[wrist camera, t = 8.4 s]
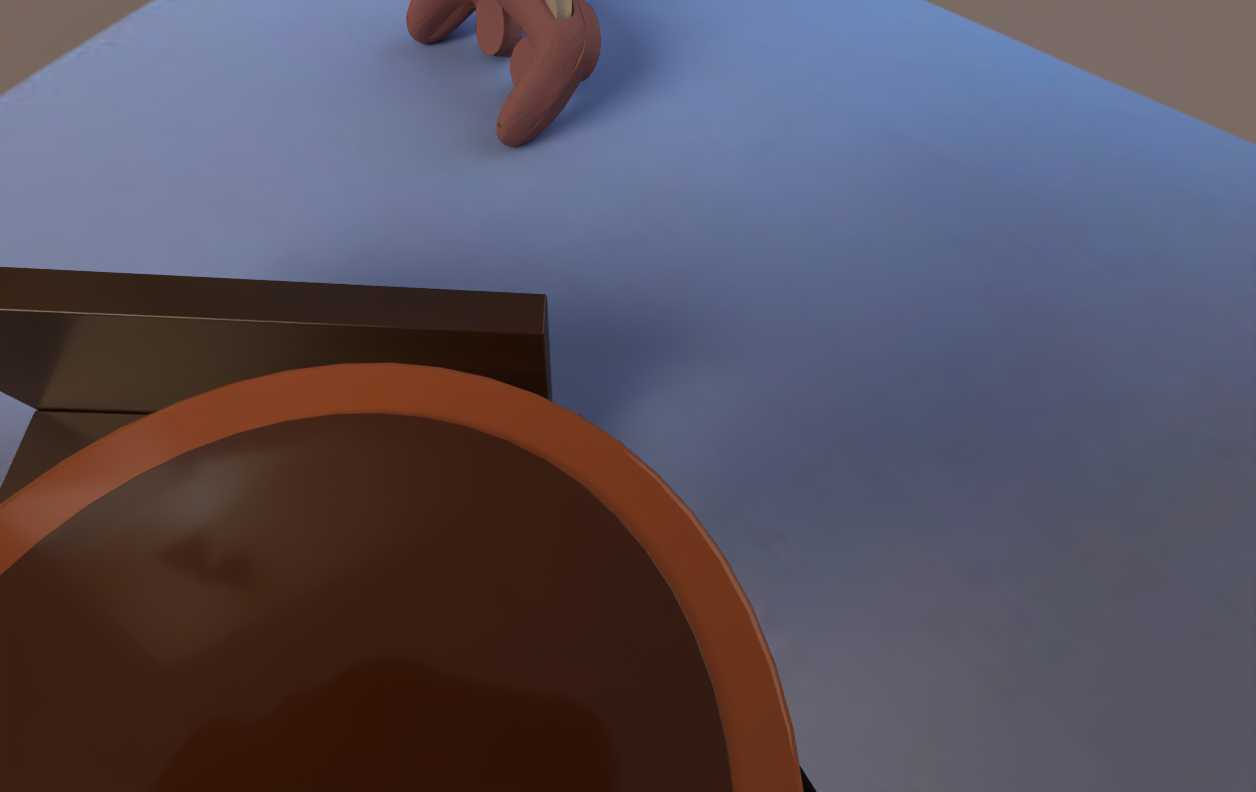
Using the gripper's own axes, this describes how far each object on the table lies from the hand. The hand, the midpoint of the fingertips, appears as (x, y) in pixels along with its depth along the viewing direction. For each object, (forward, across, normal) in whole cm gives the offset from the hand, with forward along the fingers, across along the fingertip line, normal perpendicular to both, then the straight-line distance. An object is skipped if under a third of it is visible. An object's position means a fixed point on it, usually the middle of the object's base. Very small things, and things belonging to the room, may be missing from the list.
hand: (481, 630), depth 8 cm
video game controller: (+27, +9, -9) cm, 30 cm away
